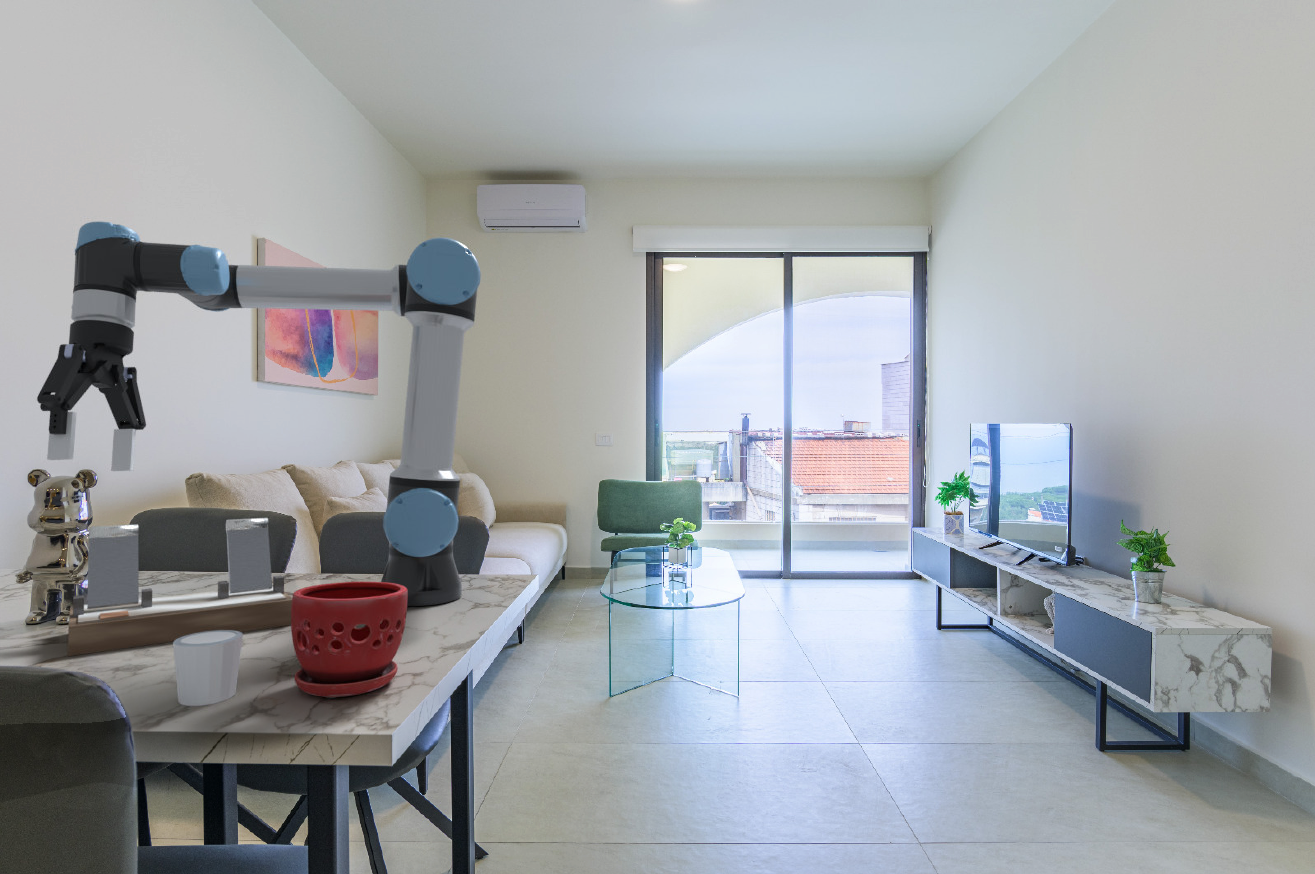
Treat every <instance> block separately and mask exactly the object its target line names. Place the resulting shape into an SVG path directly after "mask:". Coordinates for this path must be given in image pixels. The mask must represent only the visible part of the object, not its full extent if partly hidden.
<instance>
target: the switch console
mask: <svg viewBox="0 0 1315 874" xmlns="http://www.w3.org/2000/svg"><path fill="white" fill-rule="evenodd" d="M272 577H273V578H272V588H271V589H268V590H259V591H250V592H241V593H232V594H230V591H229V581H227V580H221V581H217V590H212V591H201V592H192V593H182V594H173V595H165V596H164V595H163V596H155V597H153V589H152V588H151V587H148V588H141V598H139V602H138V604H131V605H122V606H113V607H104V608H95V609H87V604H85V594H78V595H77V594H76V595H73V599H72V601H73V602H72V603H73V604H72V605H73V606H70V608H69V618H68V633H67V635H68V640H67V656H68V657H71V656H79V655H88V654H93V653H102V652H108V651H114V650H120V649H122V650H123V649H129V648H138V647H143V646H150V645H157V644H162V643H163V644H165V643H171V642H172V643H173V642H174V641H175V640H176V639H178V638H180V637H183V636H186V635H190V634H194V633H199V632H205V631H216V630H233V631H240V632H241V633H243V632H249V631H257V630H263V629H265V630H266V629H271V628H278V627H285V626H291V606H292V597H293V596H290V595H289V594H288V593H287V592H285V576H283V575H273V576H272Z"/></svg>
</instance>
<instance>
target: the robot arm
mask: <svg viewBox="0 0 1315 874" xmlns="http://www.w3.org/2000/svg"><path fill="white" fill-rule="evenodd" d="M140 240H141V239H140V235H139V234H138V233H137V232H136V231H134V230H133V229H131V228H130V227H127V226H124V225H121V224H115V223H112V222H109V221H91V222H87V223H85V224H83V225H81V226H80V228H79V230H78V235H77V240H76V241H77V242H76V246H75V249H74V256H75V258H74V259H75V260H74V278H73V292H72V294H73V295H72V305H71V315H70V318H71V320H72V321H73V322H72V323H70V325H69V335H68V336H69V338H68V344H67V343H64V344H63V343H62V344H60V345H59V348H58V354H57V359H56V360H55V362H54V363H53V366H52V368H51V369H50V372H49V374H48V375H47V377H46V380H45V382H44V383H43V385H42V387H41V389H40V391H39V393H38V395H37V397H36V401H37V402H38V404H40V406H39V407H40V410H41V411H42V412H50V413H49V420H48V421H49V423H48V432H49V433H48V443H47V444H48V446H47V455H46V456H47V458H46V460H48V461H61V460H63V461H64V460H74V452H75V451H74V449H75V439H76V437H75V436H76V424H77V412H75V411H71V410H73V408H74V407H75V405H76V404H77V403H78V402H79V401H80V399H81V398H82V397H83V396H84V395H85V394H86V392H87V391H88V390H89V389H90V387H91V386H93V387H95V388H97V389H98V391H99V393H102V394H103V395H104V397H105V399H106V402H107V404H108V406H109V410H110V412H111V414H112V415H113V419H114V421H115V424H116V426H117V428H118V429H117V428H116V429H115V428H114V429H113V438H112V452H111V453H112V454H111V472H128V471H129V472H130V471H134V465H135V463H134V462H135V451H136V449H135V447H136V432H137V431H139V430H143V431H144V429H145V428H146V427H147V423H146V422H147V421H146V417H145V413H144V409H143V404H142V399H141V394H140V390H139V385H138V377H137V376H138V374H137V373H138V371H137V367H135V366H124V365H125V364H124V359H123V358H124V357H126V356H129V355H131V354H132V353H133V351H134V340H135V339H134V338H135V337H134V336H135V332H134V330H133V328H134V327H135V326H136V325H135V324H136V303H137V294H138V292H146V293H147V292H149V293H153V292H154V293H166V294H177V295H179V296H180V297H183V298H185V300H187V301H189V302H191V303H192V304H194V305H195V306H196V307H198V308H200V309H202V310H205V311H210V312H217V313H218V312H224V311H227V310H229V309H281V310H283V309H284V310H285V309H286V310H327V311H329V310H333V311H336V310H337V311H340V310H341V311H376V312H377V311H381V312H382V311H383V312H384V311H385V312H386V311H388V312H394V313H395V314H396V315H397V316H399V317H405V318H406V319H407V320H408V322H409V323H410V324H411V326H412V332H411V333H412V334H411V341H410V342H411V343H410V344H411V345H410V356H409V366H408V376H407V377H408V378H407V389H406V398H405V399H406V400H405V409H404V418H403V419H404V421H403V431H402V441H401V442H402V443H401V454H400V463H399V465H398V467H396V468H395V469H394V470H393V471H391V472H390V473H389V479H388V480H389V481H388V490H387V502H386V509H385V513H384V514H383V520H382V526H383V527H382V528H383V531H384V535H385V537H386V538H387V540H388V542H389V543H388V547H389V548H388V561H387V563H386V566H385V569H384V572H383V574H382V577H381V580H380V582H386V583H394V584H399V585H402V586H404V587H406V588H407V590H408V597H407V607H420V606H421V607H423V606H424V607H425V606H433V605H440V604H447V603H449V602H453V601H456V600H458V599H460V598H461V597H462V595H463V594H462V591H463V589H462V588H463V587H462V586H463V584H462V581H461V579H460V575H459V571H458V569H457V565H456V563H455V559H454V538H455V536H456V534H457V532H458V530H459V522H460V521H459V520H460V519H459V516H458V515H459V514H458V513H459V512H458V508H459V497H460V496H459V495H460V485H461V484H460V483H461V478H460V476H459V475H458V474H457V472H455V470H454V469H453V462H454V453H455V441H456V439H455V438H456V429H457V417H458V410H459V409H458V407H459V396H460V384H461V374H462V373H461V372H462V364H463V363H462V360H463V353H464V351H463V350H464V340H465V334H466V332H467V331H468V330H469V329H471V328H472V327H473V326H474V325H475V317H476V307H477V296H478V288H479V286H480V283H481V274H482V273H481V269H480V265H479V262H478V260H477V258H476V256H475V255H474V254H473V252H472V251H471V249H469V248H468V247H467V246H466V245H465V244H463V243H461V242H460V241H458V240H456V239H453V238H449V237H434V238H430V239H427V240H424V241H422V242H421V243H420V244H418V245H417V246H416V247H415V248H414V249H413V250H412V252H411V254H410V255H409V259H408V260H407V264H396V265H394V267H393V268H392V269H379V268H378V269H375V268H374V269H373V268H346V267H345V268H344V267H342V268H341V267H340V268H339V267H338V268H337V267H314V266H311V267H309V266H307V267H306V266H281V265H280V266H279V265H277V266H276V265H252V264H251V265H250V264H248V265H247V264H239V265H237V264H236V265H235V264H229V261H228V260H227V256H226V254H225V253H224V251H223V250H221V249H219V248H216V247H210V246H203V245H200V244H191V245H190V244H176V243H175V244H174V243H161V242H160V243H158V242H157V243H156V242H145V241H140Z"/></svg>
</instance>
